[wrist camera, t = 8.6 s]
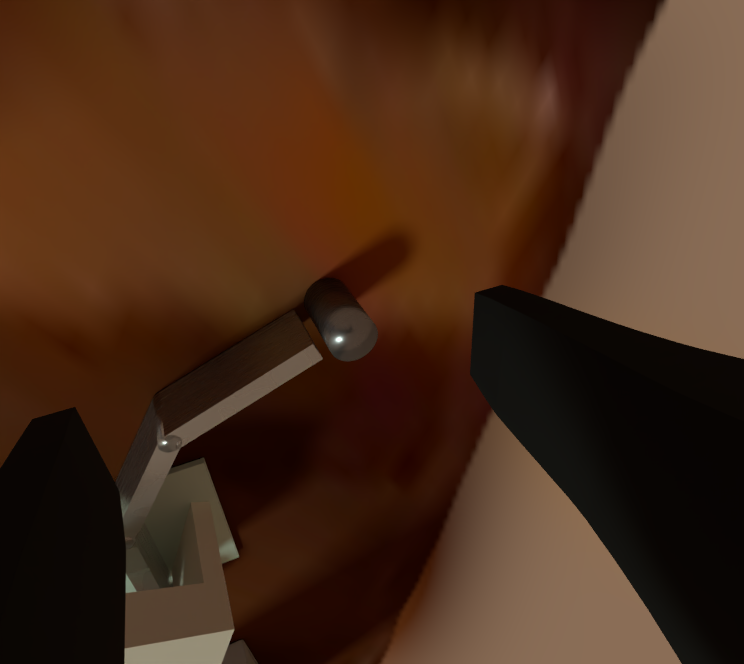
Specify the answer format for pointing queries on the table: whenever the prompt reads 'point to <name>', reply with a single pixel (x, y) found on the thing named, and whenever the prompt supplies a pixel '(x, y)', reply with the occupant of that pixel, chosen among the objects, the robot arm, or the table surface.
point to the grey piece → (227, 406)
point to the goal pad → (185, 512)
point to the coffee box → (238, 654)
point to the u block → (183, 604)
